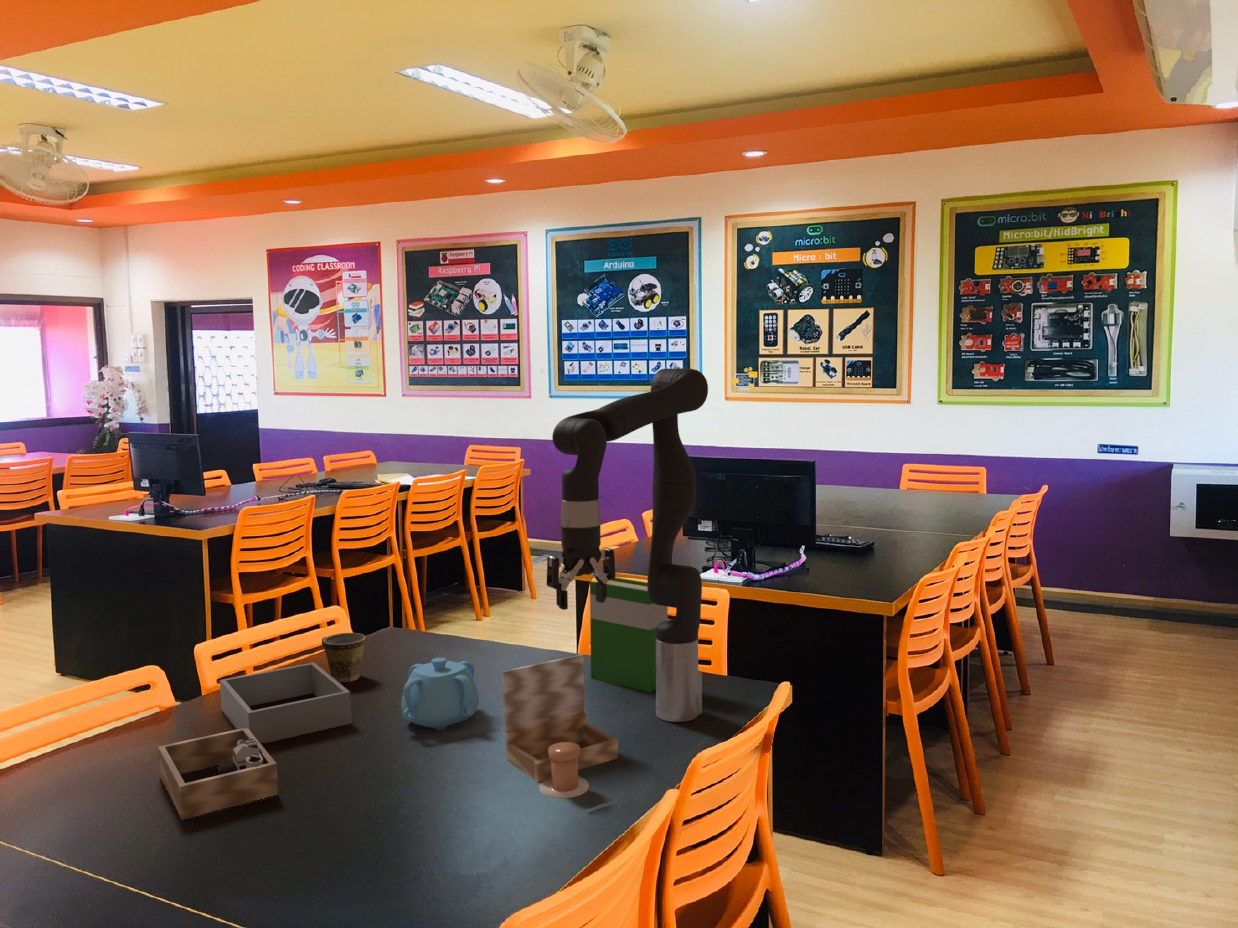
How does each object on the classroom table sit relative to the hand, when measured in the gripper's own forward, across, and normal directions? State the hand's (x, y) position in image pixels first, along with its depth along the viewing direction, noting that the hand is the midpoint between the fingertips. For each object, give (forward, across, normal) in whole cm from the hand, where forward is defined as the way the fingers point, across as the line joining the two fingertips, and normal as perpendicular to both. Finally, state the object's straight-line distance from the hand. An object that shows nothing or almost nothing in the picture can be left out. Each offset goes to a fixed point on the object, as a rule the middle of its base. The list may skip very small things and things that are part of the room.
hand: (581, 605), depth 184 cm
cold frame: (+30, +5, 0) cm, 31 cm away
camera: (+30, +59, -25) cm, 71 cm away
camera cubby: (+30, +62, -28) cm, 74 cm away
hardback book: (+30, -32, -30) cm, 54 cm away
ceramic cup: (+30, +23, -75) cm, 84 cm away
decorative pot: (+30, +15, -34) cm, 48 cm away
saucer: (+30, +11, +10) cm, 34 cm away
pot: (+30, +11, +10) cm, 33 cm away
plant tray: (+30, +42, -56) cm, 76 cm away
